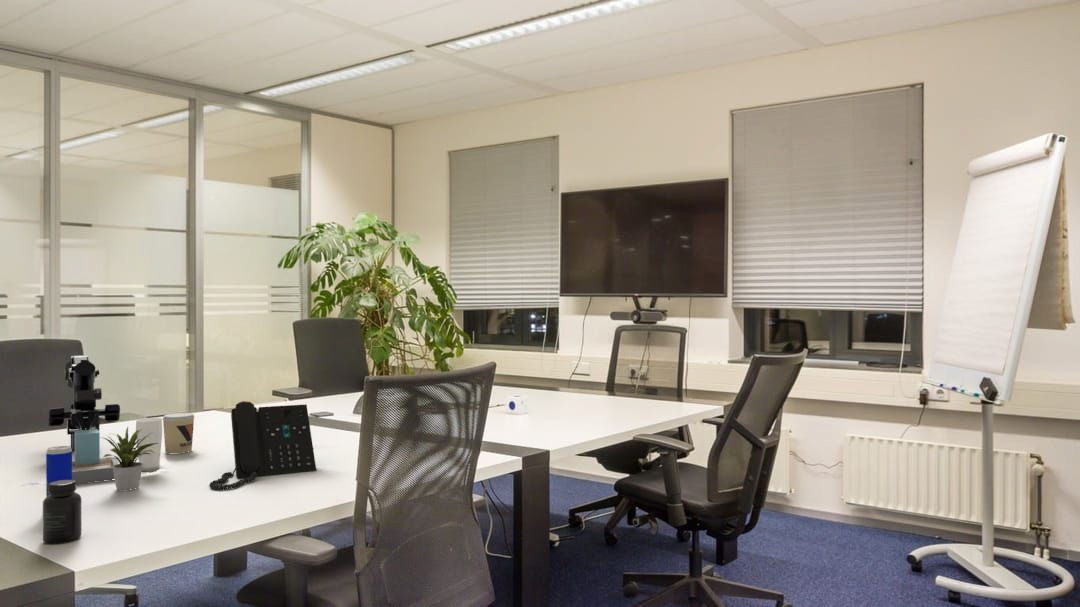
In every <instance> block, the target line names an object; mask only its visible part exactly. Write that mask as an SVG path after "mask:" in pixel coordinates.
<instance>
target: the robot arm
mask: <svg viewBox="0 0 1080 607" xmlns="http://www.w3.org/2000/svg"><path fill="white" fill-rule="evenodd" d="M99 375H100V370H99V369H98V368H97V366H95V364H94V363H93V362H91V361H90V360H89V356H88V355H72V356H70V360H69V361H68V362H67V363H65V365H64V381H66V384H67V385H66V386H67V387H69V388H70V389H72V396H73V397H72V399H73V400H72V401H73V403H72V404H71V405H70V409H69V411H65V407H52V408H50V409H49V410H48V426H50V427H56V426H58V427H59V426H62V425H64V423H65V420H67V422H66V423H67V424H66V432H67V433H66V435H70V447H71V449H72V453H75V431H82V430H94V429H98V431H99V432H100V424H101V418H100V417H102V416H103V417H104V420H105V421H106V422H118V421H120V415H121V406H120V404H119V403H112V404H111V403H109V404H105V406H104V408H99V409H98V408H97V401H99V400H102V396H103V395H102V392H103V391H102V388H101V387H100V388H99V387H98V388H95V382H96V381H95V380H96V378H98V376H99ZM96 408H97V409H96Z"/></svg>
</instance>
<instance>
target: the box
mask: <svg viewBox="0 0 1080 607" xmlns="http://www.w3.org/2000/svg"><path fill="white" fill-rule="evenodd" d="M114 458H115V457H111V465H110V467H109V466H108V467H99V468H89V469H81V470H72V480H74V481H76V485H80V484H79V483H85V484H89V483H88V482H93V483H96V482H95V481H102V482H105V481H104V480H110V481H113V480H112V479H115V478H114V473H113V468H112V466H113V465H116V464H119V462H118V460H117V459H114Z"/></svg>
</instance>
